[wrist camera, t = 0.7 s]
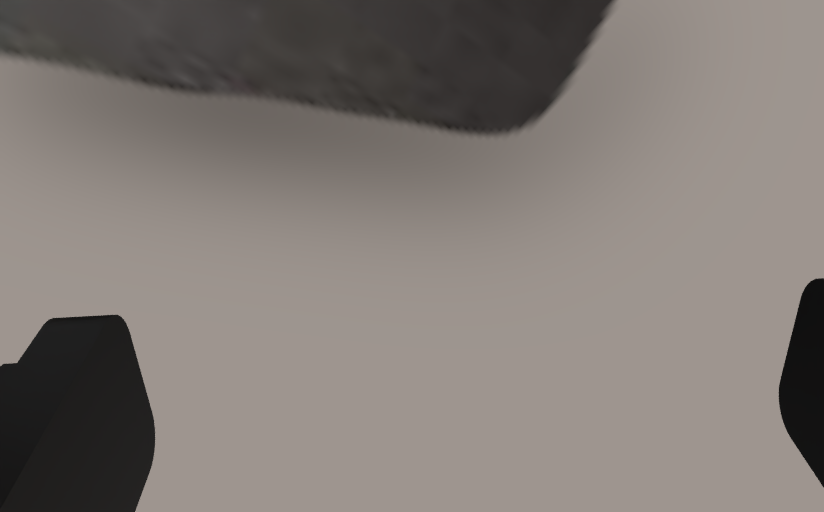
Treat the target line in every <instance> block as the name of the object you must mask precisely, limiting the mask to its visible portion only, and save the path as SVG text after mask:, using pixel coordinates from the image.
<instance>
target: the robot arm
mask: <svg viewBox="0 0 824 512" xmlns="http://www.w3.org/2000/svg"><path fill="white" fill-rule="evenodd" d="M779 404H780V410H781V415H782V419H783V422H784V425H785V427H786V430H787V432H788V434H789V435H790V437H791V439H792V440H793V442H794V443H795V445H796V446H797V448H798V449H799V451H800V452H801V454H802V455H803V457H804V458H805V460H806V461H807V463H808V465H809V466H810V468H811V469H812V471H813V472H814V473H815V475H816V477H817V478H818V480H819V481H820V482H821V484H822V486H823V487H824V279H823V278H822V279H815V280H813V281H811V282H810V283H809V284H808V285H807V286H806V287H805V289H804V291H803V293H802V296H801V300H800V304H799V308H798V312H797V316H796V320H795V324H794V328H793V332H792V336H791V340H790V344H789V348H788V352H787V356H786V360H785V364H784V368H783V372H782V376H781V380H780V385H779ZM154 448H155V427H154V419H153V415H152V411H151V407H150V403H149V400H148V396H147V393H146V389H145V385H144V382H143V378H142V375H141V372H140V368H139V364H138V361H137V357H136V354H135V350H134V346H133V343H132V339H131V335H130V332H129V329H128V327H127V325H126V323H125V321H124V320H123V319H122V317H120V316H118V315H103V316H85V317H66V318H53V319H50V320H48V321H47V322H46V323H45V324H44V325H43V326H42V328H41V329H40V331H39V332H38V334H37V335H36V337H35V338H34V339H33V341H32V342H31V344H30V345H29V347H28V348H27V350H26V351H25V353H24V354H23V355H22V357H21V358H20V360H19V361H18V363H13V364H3V365H2V366H0V512H135V510H136V507H137V504H138V502H139V499H140V496H141V494H142V491H143V488H144V485H145V483H146V480H147V477H148V475H149V472H150V469H151V466H152V461H153V456H154Z"/></svg>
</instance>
